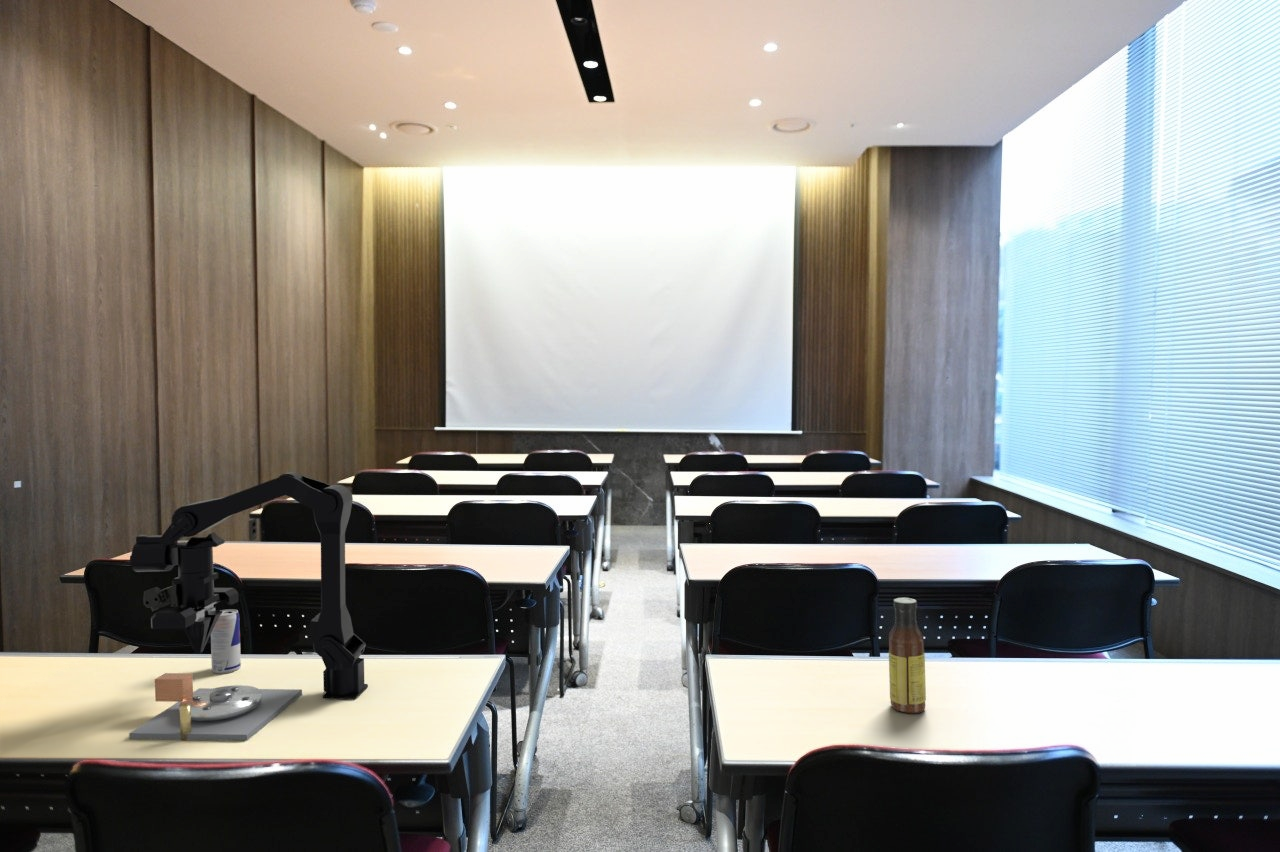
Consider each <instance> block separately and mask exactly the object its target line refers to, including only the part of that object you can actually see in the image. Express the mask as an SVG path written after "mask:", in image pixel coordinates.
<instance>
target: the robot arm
mask: <svg viewBox="0 0 1280 852" xmlns="http://www.w3.org/2000/svg"><path fill="white" fill-rule="evenodd" d="M283 496H287V497H290V498H291V499H293V501H295V502H297V503H299V504H300V505H303V506H305V507H306V508H309V509H312V512H313V513H312V514H313V517H314V522H315V525H316V527H317V530H318V533H319V536H320V601H321V602H320V612H319V613H318V614H317V615H315V617H313V618H312V619H311V620H310V621H309V628H310V634H311V635H310V639H309V642H308V643H309V645H310V644H312V647H313V651H314V653H315V654H317V655H318V656H319V657H320V658H321V660H322V662H323V665H324V667H325V669H324V670H323V672H322V673H323V674H322V675H323V677H322V678H323V692H324V694H322V699H329V700H330V699H333V700H335V699H337V700H340V699H343V700H352V699H353V700H355V699H357V698H358V697H359V696H360V695H361V694H362V693H363V692H364V691H365V690H366V689H368V687H369V684H368V683H365V658H363V657H362V658H361V657H360V656H361V655H363V653H364V651H365V648H366V646H367V645H366V642H365V641H363V639H361V638H360V637H359V636H358V635H357V634H356V633H354V627H353V623H352V617H351V615H350V612H349V610H348V607H347V603H346V531H347V526H348V524H349V520H350V517H351V512H352V506H353V501H354V500H353V499H354V498H353V494H352V492H351V490H349V488H347V487H346V486H345V485H343V484H332V485H331V484H329V483H326V482H324V481H321V480H318V479H314V478H310V477H307V476H305V475H302V474H300V473H298V472H297V471H289V472H286V473H283V474H280V476H279V475H278V477H276V478H275V477H274V478H273V479H271V480H268V481H265V482H262V483H259V484H257V485H254V486H252V487H248V488H246V489H243V490H241V491H237V492H236V493H235V492H234V493H232V494H230V495H227V496H223V497H217V498H211V499H206V500H201V501H196V502H193V503H189V504H187V505H182V506H180V507H178V508H177V509H176V510H174V511H173V515H172V517H171V523H170V524H169V526H168V527H167V529H165V531H164V532H163V534H161V535H160V534H158V535H152V534H140V535H137V536H136V537H135V541H136V542H135V544H134V545H133V547H132V550H131V554H130V556H129V563H130V567H131V569H132V570H133V571H134V572H137V573H140V572H141V573H142V572H144V573H145V572H146V573H147V572H170V571H172V569H173V568H174V567H175V566H177V565H178V570H177V571H178V573H177V574H178V576H177V577H174V578H173V580H171V586H169V587H166V588H163V589H160V588H159V587H158V586H156V587H153V588H150V589H147V590H145V591H143V602H142V603H143V606H145V607H146V608H150V609H151V612H155V611H156V612H155V613H153V614H152V616H151V617H150V627H151V629H152V630H181V629H183V630H184V632H185V634H186V636H187V638H188V640H189V643H190V644H191V648H192V649H193V652H194V653H195V654H201V653H203V651H204V649H205V647H206V645H207V643H208V641H209V638H211V632H212V630H213V628H214V626H215V624H216V622H217V620H218V618H219V617H220V615H221V614H222V612H223V611H220V610H216V606H215V607H214V605H216V604H218V603H227V605H228V606H232V605H235V604H237V603H238V602H239V592H238V591H237V589H236V588H234V587H215V583H214V582H215V581H214V580H217V579H219V572H214V555H213V554H214V553H213V552H214V550H213V548H216V547H219V546H221V545H223V544H225V542H226V541H225V539H223V538H222V537H220V536H219V535H218V534H217V533H216V532H211V533H208V535H207V536H197V535H198V534H201V533H204V532H207V531H208V530H210V529H212V528H214V527H216V526H217V525H220V524H221V523H223V522H224V521H226V520H227V519H229V518H230V517H232V516H234V515H236V514H238V513H240V512H241V513H242V512H244V511H247V510H248V509H251V508H254V507H256V506H257V507H258V506H259V505H262V504H264V503H268V502H270V501H273V500H275V499H279V498H281V497H283ZM184 538H189V539H188V541H180V540H182V539H184ZM168 605H169V606H170V607H168ZM164 607H166V608H164ZM160 608H163V609H161V610H159V609H160Z"/></svg>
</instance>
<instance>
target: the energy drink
mask: <svg viewBox="0 0 1280 852" xmlns="http://www.w3.org/2000/svg"><path fill="white" fill-rule="evenodd" d="M219 611H223V612H222V614H221V615H220V617H219V618H218V620H217V622H216V624H215V626H214V628H213V630H212V632H211V634H210V651H211V653H210V655H211V657H210V659H211V671H212V672H213V673H214V674H217V675H218V674H219V675H223V674H224V675H225V674H230V673H234V672H236V671H238V670H240V668H241V667H242V663H241V661H242V659H241V627H240V626H241V625H240V624H241V623H240V613H239V611H238V609H233V608H231V609H230V608H229V609H222V610H221V609H220V610H219Z"/></svg>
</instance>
